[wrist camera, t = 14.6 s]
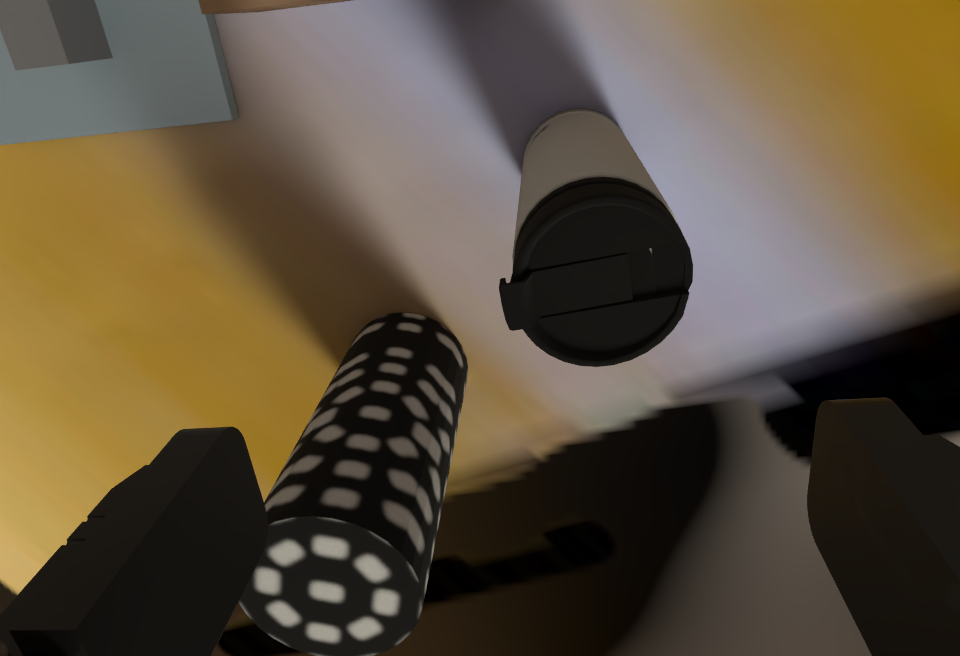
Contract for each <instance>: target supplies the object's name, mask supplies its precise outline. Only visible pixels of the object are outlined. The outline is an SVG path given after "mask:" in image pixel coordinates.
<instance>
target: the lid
mask: <svg viewBox="0 0 960 656" xmlns="http://www.w3.org/2000/svg"><path fill="white" fill-rule="evenodd" d="M237 118H239V115H238V111H237V107H236V103H235V99H234V95H233V91H232V87H231V83H230V79H229V75H228V71H227V67H226V63H225V59H224V55H223V51H222V47H221V43H220V39H219V35H218V31H217V27H216V23H215V19H214V16H213V14H202V12H201V8H200V5H199V1H198V0H0V145H4V144H14V143H23V142H33V141H42V140H51V139H61V138H70V137H79V136H89V135H98V134H108V133H117V132H126V131H136V130H145V129H155V128H164V127H173V126H183V125H192V124H201V123H211V122H220V121H230V120H234V119H237Z"/></svg>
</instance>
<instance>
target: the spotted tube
mask: <svg viewBox="0 0 960 656" xmlns="http://www.w3.org/2000/svg"><path fill="white" fill-rule="evenodd" d="M467 374H468V365H467V359H466V356H465V353H464V350H463V348H462V346H461V345H460V343H459V341H458V340H457V338H456V337H455V336H454V335H453V334H452V333H451V332H450V331H449V330H448V329H447V328H446V327H444V326H443V325H441V324H440V323H439V322H437V321H435V320H432V319H430V318H428V317H425V316H422V315H418V314H413V313H394V314H388V315H385V316H382V317H379V318H377V319H375V320H373V321H371V322H370V323H368V324H367V325H366V326H365V327H364V328H362V329H361V331H360V332H359V333H358V335H357V336H356V337H355V339H354V341H353V343H352V344H351V346H350V348H349V350H348V352H347V353H346V355H345V357H344V359H343V361H342V363H341V364H340V366H339V368H338V370H337V372H336V373H335V375H334V377H333V379H332V381H331V382H330V384H329V386H328V388H327V390H326V392H325V393H324V395H323V397H322V399H321V401H320V402H319V404H318V406H317V408H316V410H315V412H314V413H313V415H312V417H311V419H310V421H309V422H308V424H307V426H306V428H305V430H304V431H303V433H302V435H301V437H300V439H299V441H298V442H297V444H296V446H295V448H294V450H293V451H292V453H291V455H290V457H289V459H288V461H287V462H286V464H285V466H284V468H283V470H282V471H281V473H280V475H279V477H278V479H277V480H276V482H275V484H274V486H273V488H272V490H271V491H270V493H269V495H268V497H267V499H266V500H265V502H264V505H265V508H266V512H267V521H268V531H267V539H266V544H265V548H264V551H263V554H262V556H261V558H260V560H259V562H258V564H257V566H256V568H255V570H254V572H253V574H252V576H251V578H250V580H249V582H248V584H247V586H246V588H245V590H244V592H243V594H242V596H241V598H240V599H239V603H240V605H241V606H242V608H243V609H244V611H245V613H246V614H247V615H248V617H249V618H250V619H251V620H252V621H253V622H254V623H255V624H256V625H257V626H258V627H259V628H260V629H262V630H263V631H264V632H266V633H267V634H268V635H269V636H271V637H272V638H274V639H276V640H277V641H279V642H281V643H283V644H284V645H286V646H288V647H291V648H293V649H296V650H298V651H301V652H304V653H307V654H311V655H315V656H373V655H376V654H379V653H382V652H385V651H387V650H389V649H391V648H393V647H394V646H396V645H398V644H399V643H401V642H402V641H403V640H404V639H405V638H406V637H407V636H408V635H409V634H410V633H411V632H412V630H413V629H414V627H415V626H416V624H417V623H418V620H419V617H420V614H421V611H422V607H423V602H424V597H425V591H426V586H427V581H428V576H429V571H430V566H431V561H432V556H433V551H434V545H435V540H436V535H437V530H438V525H439V520H440V515H441V510H442V505H443V499H444V494H445V489H446V484H447V479H448V474H449V469H450V464H451V459H452V453H453V448H454V443H455V438H456V433H457V428H458V423H459V418H460V413H461V407H462V402H463V397H464V392H465V387H466V382H467Z"/></svg>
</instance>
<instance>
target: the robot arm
mask: <svg viewBox="0 0 960 656" xmlns="http://www.w3.org/2000/svg"><path fill="white" fill-rule="evenodd" d="M807 509H808V517H809V523H810V527H811V531H812V535H813V538H814V540H815V543H816V545H817V547H818V549H819V551H820V553H821V555H822V557H823V559H824V561H825V563H826V565H827V567H828V569H829V571H830V573H831V575H832V577H833V579H834V581H835V583H836V585H837V587H838V589H839V591H840V593H841V595H842V597H843V599H844V601H845V603H846V605H847V607H848V609H849V611H850V613H851V615H852V617H853V619H854V621H855V623H856V625H857V627H858V629H859V631H860V633H861V635H862V637H863V639H864V641H865V643H866V645H867V647H868V649H869V651H870V653H871V655H872V656H960V447H959V446H957V445H955V444H954V443H952V442H950V441H948V440H947V439H945V438H943V437H942V436H940V435H925V436H923V435H922V434H921V433H920V431H919V430H918V429H917V428H916V427H915V426H914V425H913V423H912V422H911V421H910V420H909V419H908V418H907V417H906V415H905V414H904V413H903V412H902V411H901V410H900V409H899V407H898V406H897V405H896V404H895V403H894V402H893V401H892V400H890V399H888V398H871V399H849V400H828V401H824V402H822V403H821V405H820V407H819V409H818V413H817V418H816V426H815V434H814V443H813V451H812V460H811V468H810V476H809V485H808V494H807ZM87 517H88V520H87V522H82V523H81V524H80V525H79V526H78V527H77V529H76V530H75V531H74V532H73V533H72V534H71V535H70V536H69V538H68V539H67V545H62V546H61V547H60V548H59V549H58V550H57V551H56V552H55V553H54V555H53V556H52V557H51V558H50V559H49V560H48V561H47V563H46V564H45V565H44V566H43V567H42V568H41V569H40V570H39V572H38V573H37V574H36V575H35V576H34V577H33V578H32V580H31V581H30V582H29V583H28V584H27V585H26V586H25V587H24V589H23V590H22V591H21V592H20V593H19V594H18V595H17V597H16V598H15V599H14V600H13V601H12V602H11V603H10V604H9V606H8V607H7V608H6V609H5V610H4V611H3V613H2V614H1V615H0V656H211V655H212V653H213V651H214V649H215V647H216V645H217V643H218V641H219V639H220V637H221V635H222V633H223V631H224V629H225V627H226V625H227V623H228V621H229V619H230V617H231V615H232V613H233V611H234V609H235V607H236V605H237V603H238V601H239V599H240V598H241V596H242V594H243V592H244V590H245V588H246V586H247V584H248V582H249V580H250V578H251V576H252V574H253V572H254V570H255V568H256V566H257V564H258V562H259V560H260V558H261V556H262V554H263V551H264V548H265V544H266V539H267V531H268V521H267V512H266V508H265V505H264V502H263V498H262V495H261V492H260V489H259V485H258V482H257V479H256V476H255V472H254V469H253V466H252V462H251V459H250V456H249V453H248V449H247V446H246V443H245V440H244V437H243V436H242V434H241V432H240V431H239V430H238V429H237V428H235V427H218V428H196V429H183V430H180V431H179V432H177V433H176V434H175V435H174V436H173V437H172V439H171V440H170V441H169V442H168V443H167V444H166V446H165V447H164V448H163V449H162V450H161V452H160V453H159V454H158V455H157V456H156V457H155V459H154V460H153V461H152V462H151V463H150V465H145V466H143V467H142V468H141V469H139V470H138V471H136V472H135V473H133V474H132V475H131V476H129V477H128V478H126V479H125V480H124V481H122V482H121V483H119V484H118V485H116V486H115V487H114V488H112V489H111V490H110V491H109V492H108V493H107V495H106V496H105V497H104V498H103V499H102V500H101V501H100V503H99V504H98V505H97V506H96V507H95V508H94V509H93V510H92V512H91V513H90V514H89V515H88V516H87Z"/></svg>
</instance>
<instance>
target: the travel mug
mask: <svg viewBox="0 0 960 656" xmlns="http://www.w3.org/2000/svg"><path fill="white" fill-rule="evenodd" d="M692 278H693V263H692V258H691V253H690V248H689V246H688V244H687V242H686V240H685V238H684V236H683V234H682V232H681V230H680V228H679V226H678V223H677V221H676V219H675V217H674V214H673V213H672V211H671V210H670V208H669V206H668V205H667V203H666V201H665V200H664V198H663V196H662V195H661V193H660V192H659V190H658V188H657V187H656V185H655V184H654V182H653V180H652V179H651V177H650V175H649V174H648V172H647V171H646V169H645V167H644V166H643V164H642V162H641V161H640V159H639V158H638V156H637V154H636V153H635V151H634V150H633V148H632V146H631V145H630V143H629V141H628V140H627V138H626V137H625V135H624V133H623V132H622V131H621V129H620V128H619V127H618V125H617V124H616V123H615V122H613V121H612V120H611V119H610V118H609V117H607V116H605V115H603V114H602V113H600V112H597V111H594V110H590V109H582V108H577V109H568V110H564V111H561V112H558V113H556V114H554V115H552V116H551V117H549V118H547V119H546V120H545V121H544V122H542V123H541V124H540V125H539V126H538V127H537V129H536V130H535V131H534V132H533V133H532V135H531V137H530V139H529V141H528V143H527V146H526V149H525V152H524V159H523V168H522V177H521V186H520V195H519V204H518V213H517V222H516V231H515V240H514V249H513V273H512V277H511V281H510V283H506V280H505V278H502V279H500V285H499V291H500V297H501V302H502V307H503V311H504V316H505V320H506V322H507V325H508V327H509V329H510V330H512V331H514V330H520V329H523V330H524V332H525V333H526V334H527V336H528V337H529V338H530V339H531V340H532V341H533V342H534V344H535V345H536V346H538V347H539V348H540V349H542V350H543V351H545V352H546V353H547V354H549V355H551V356H553V357H555V358H557V359H559V360H561V361H564V362H567V363H571V364H575V365H579V366H593V367H599V366H608V365H615V364H619V363H622V362H626V361H629V360H632V359H634V358H636V357H638V356H640V355H642V354H644V353H646V352H648V351H649V350H651V349H652V348H653V347H655V346H656V345H658V344H659V343H660V342H662V341H663V340H664V339H665V338H666V337H667V336H668V335H669V334H670V333H671V332H672V331H673V329H674V328H675V326H676V325H677V324H678V322H679V321H680V319H681V318H682V316H683V314H684V310H685V307H686V303H687V300H688V296H689V292H688V290H689V288H690V286H691V283H692Z"/></svg>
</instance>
